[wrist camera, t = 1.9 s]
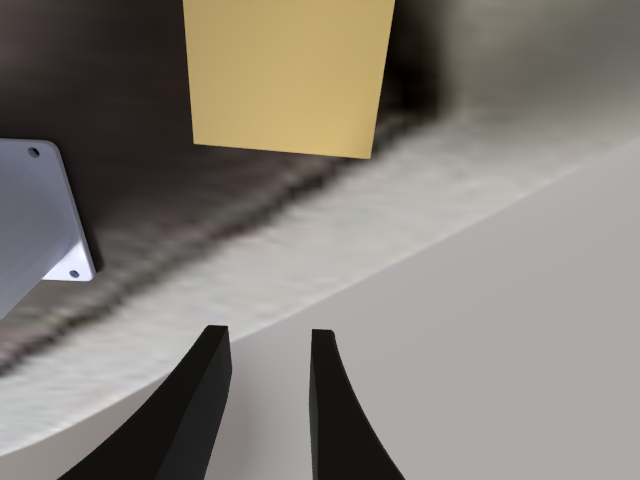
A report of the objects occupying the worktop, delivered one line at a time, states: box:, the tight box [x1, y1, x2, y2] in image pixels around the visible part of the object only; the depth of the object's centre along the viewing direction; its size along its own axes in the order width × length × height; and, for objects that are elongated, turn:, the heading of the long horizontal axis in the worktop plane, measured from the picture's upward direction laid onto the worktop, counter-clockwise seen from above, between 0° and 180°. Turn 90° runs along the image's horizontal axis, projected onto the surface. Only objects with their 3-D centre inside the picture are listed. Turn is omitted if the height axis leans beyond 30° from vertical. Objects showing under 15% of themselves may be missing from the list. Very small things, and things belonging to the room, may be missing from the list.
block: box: [183, 0, 395, 159], centre depth 16 cm, size 7×7×4 cm
